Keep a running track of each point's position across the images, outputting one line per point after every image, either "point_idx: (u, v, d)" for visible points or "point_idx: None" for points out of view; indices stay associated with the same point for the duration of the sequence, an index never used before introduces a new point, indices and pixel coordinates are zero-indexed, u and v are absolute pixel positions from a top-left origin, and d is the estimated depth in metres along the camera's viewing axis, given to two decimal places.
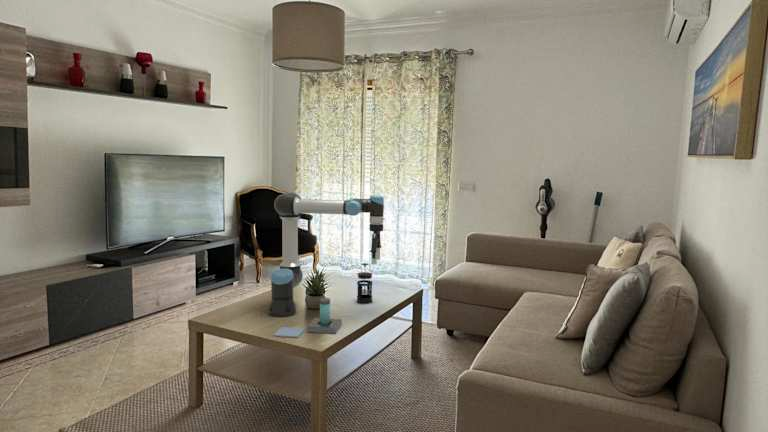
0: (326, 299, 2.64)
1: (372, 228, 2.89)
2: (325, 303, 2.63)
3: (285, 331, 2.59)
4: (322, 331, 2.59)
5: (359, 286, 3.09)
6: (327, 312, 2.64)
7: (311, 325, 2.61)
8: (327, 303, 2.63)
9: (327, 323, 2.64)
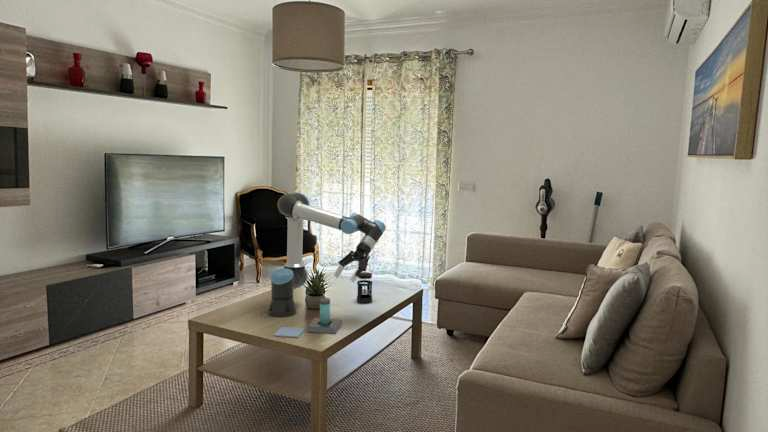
0: (326, 299, 2.64)
1: (365, 248, 2.76)
2: (325, 303, 2.63)
3: (285, 331, 2.59)
4: (322, 331, 2.59)
5: (359, 286, 3.09)
6: (327, 312, 2.64)
7: (311, 325, 2.61)
8: (327, 303, 2.63)
9: (327, 323, 2.64)
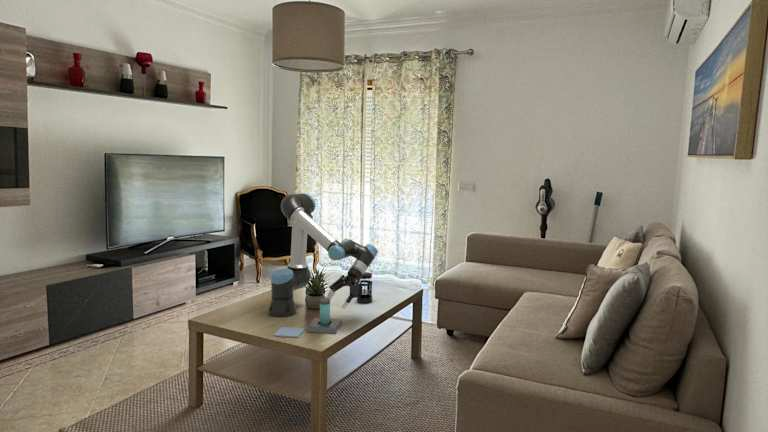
0: (326, 299, 2.64)
1: (357, 273, 2.71)
2: (325, 303, 2.63)
3: (285, 331, 2.59)
4: (322, 331, 2.59)
5: None
6: (327, 312, 2.64)
7: (311, 325, 2.61)
8: (327, 303, 2.63)
9: (327, 323, 2.64)
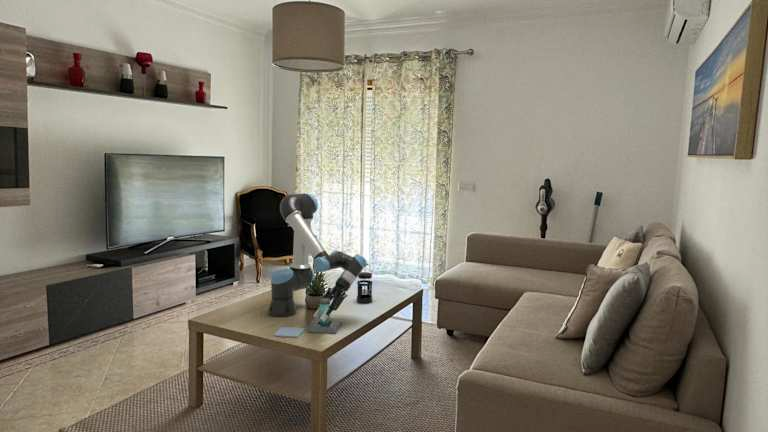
0: (326, 299, 2.64)
1: (345, 284, 2.68)
2: (325, 303, 2.63)
3: (285, 331, 2.59)
4: (322, 331, 2.59)
5: (359, 286, 3.09)
6: None
7: (311, 325, 2.61)
8: (327, 303, 2.63)
9: (327, 323, 2.64)
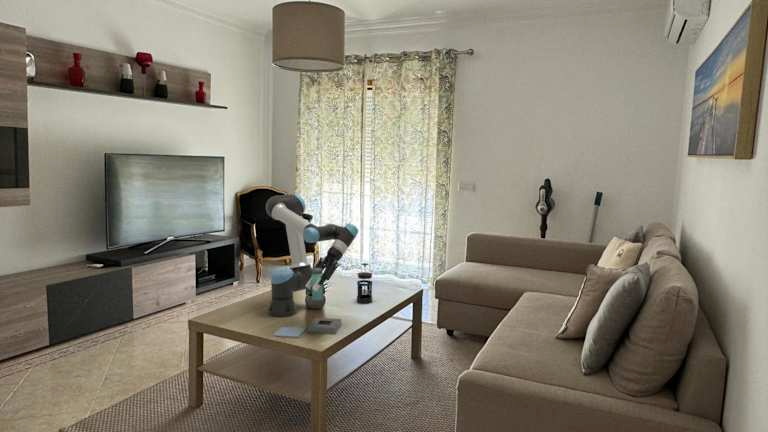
0: (318, 269, 2.59)
1: (336, 253, 2.63)
2: (317, 273, 2.57)
3: (285, 331, 2.59)
4: (322, 331, 2.59)
5: (359, 286, 3.09)
6: None
7: (311, 325, 2.61)
8: (319, 273, 2.58)
9: (320, 293, 2.59)
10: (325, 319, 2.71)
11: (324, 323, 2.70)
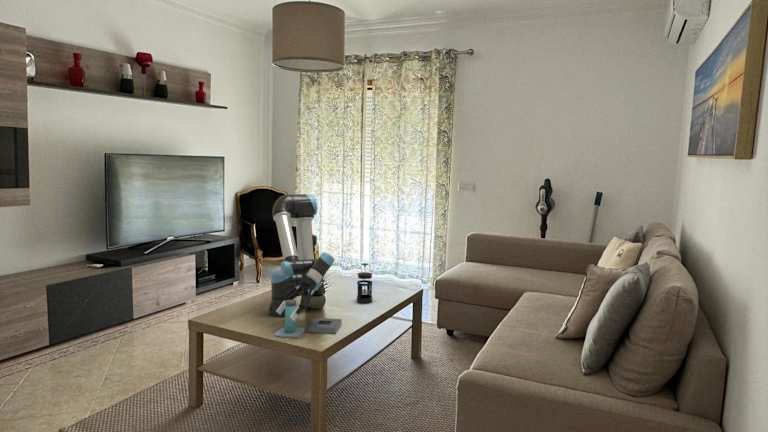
0: (292, 301, 2.57)
1: (310, 282, 2.60)
2: (291, 305, 2.55)
3: None
4: (322, 331, 2.59)
5: (359, 286, 3.09)
6: None
7: (311, 325, 2.61)
8: (293, 305, 2.55)
9: (292, 326, 2.56)
10: (325, 319, 2.71)
11: (324, 323, 2.70)
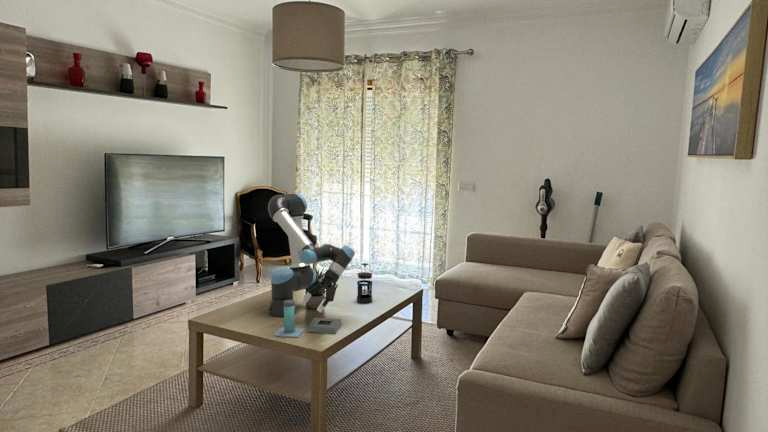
0: (290, 301, 2.57)
1: (333, 276, 2.69)
2: (289, 305, 2.55)
3: None
4: (322, 331, 2.59)
5: (359, 286, 3.09)
6: (291, 314, 2.56)
7: (311, 325, 2.61)
8: (291, 305, 2.55)
9: (292, 326, 2.56)
10: (325, 319, 2.71)
11: (324, 323, 2.70)
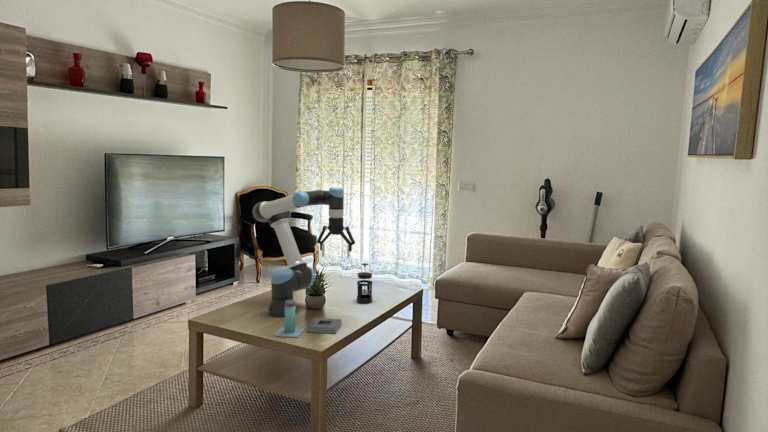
0: (291, 301, 2.56)
1: (341, 222, 2.77)
2: (290, 305, 2.54)
3: None
4: (322, 331, 2.59)
5: (359, 286, 3.09)
6: (292, 315, 2.56)
7: (311, 325, 2.61)
8: (292, 305, 2.55)
9: (292, 326, 2.56)
10: (325, 319, 2.71)
11: (324, 323, 2.70)
